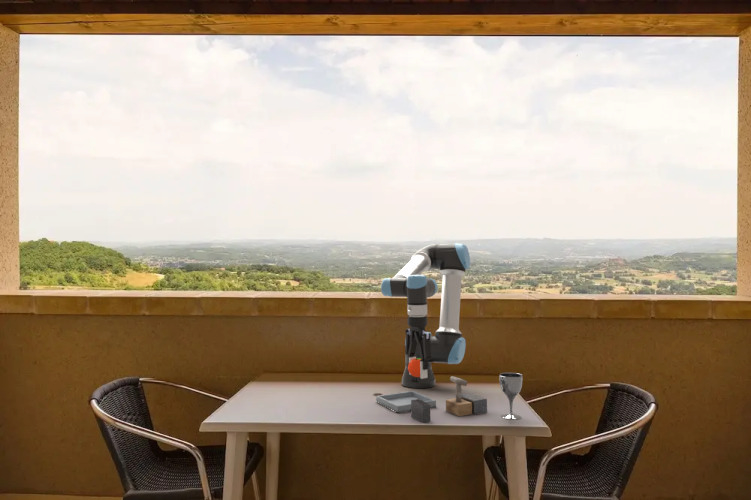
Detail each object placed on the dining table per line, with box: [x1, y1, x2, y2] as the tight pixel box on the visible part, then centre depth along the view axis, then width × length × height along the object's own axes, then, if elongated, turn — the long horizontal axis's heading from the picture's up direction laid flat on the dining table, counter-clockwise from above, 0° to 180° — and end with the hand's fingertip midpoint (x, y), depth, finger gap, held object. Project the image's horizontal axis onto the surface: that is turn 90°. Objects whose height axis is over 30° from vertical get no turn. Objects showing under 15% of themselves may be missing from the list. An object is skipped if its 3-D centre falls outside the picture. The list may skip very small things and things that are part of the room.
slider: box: [445, 375, 473, 417], centre depth 200 cm, size 8×6×12 cm
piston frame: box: [410, 392, 488, 424], centre depth 198 cm, size 9×28×6 cm, turn 117°
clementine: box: [408, 358, 421, 377], centre depth 207 cm, size 8×7×7 cm
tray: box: [375, 390, 437, 413], centre depth 212 cm, size 17×17×2 cm
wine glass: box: [499, 372, 523, 421], centre depth 195 cm, size 8×8×15 cm
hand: (418, 375), depth 206 cm, fingers closed on clementine, 7 cm apart
